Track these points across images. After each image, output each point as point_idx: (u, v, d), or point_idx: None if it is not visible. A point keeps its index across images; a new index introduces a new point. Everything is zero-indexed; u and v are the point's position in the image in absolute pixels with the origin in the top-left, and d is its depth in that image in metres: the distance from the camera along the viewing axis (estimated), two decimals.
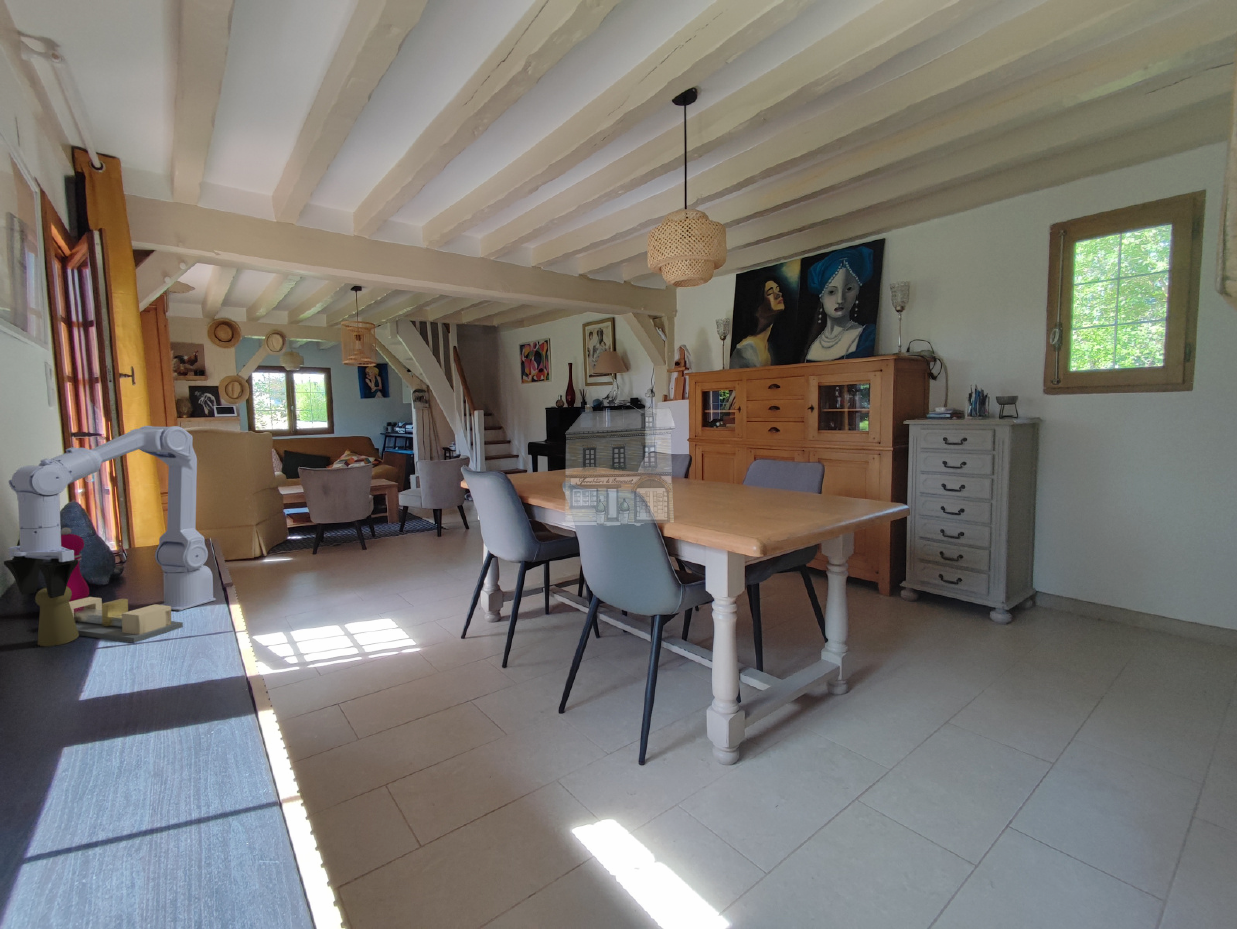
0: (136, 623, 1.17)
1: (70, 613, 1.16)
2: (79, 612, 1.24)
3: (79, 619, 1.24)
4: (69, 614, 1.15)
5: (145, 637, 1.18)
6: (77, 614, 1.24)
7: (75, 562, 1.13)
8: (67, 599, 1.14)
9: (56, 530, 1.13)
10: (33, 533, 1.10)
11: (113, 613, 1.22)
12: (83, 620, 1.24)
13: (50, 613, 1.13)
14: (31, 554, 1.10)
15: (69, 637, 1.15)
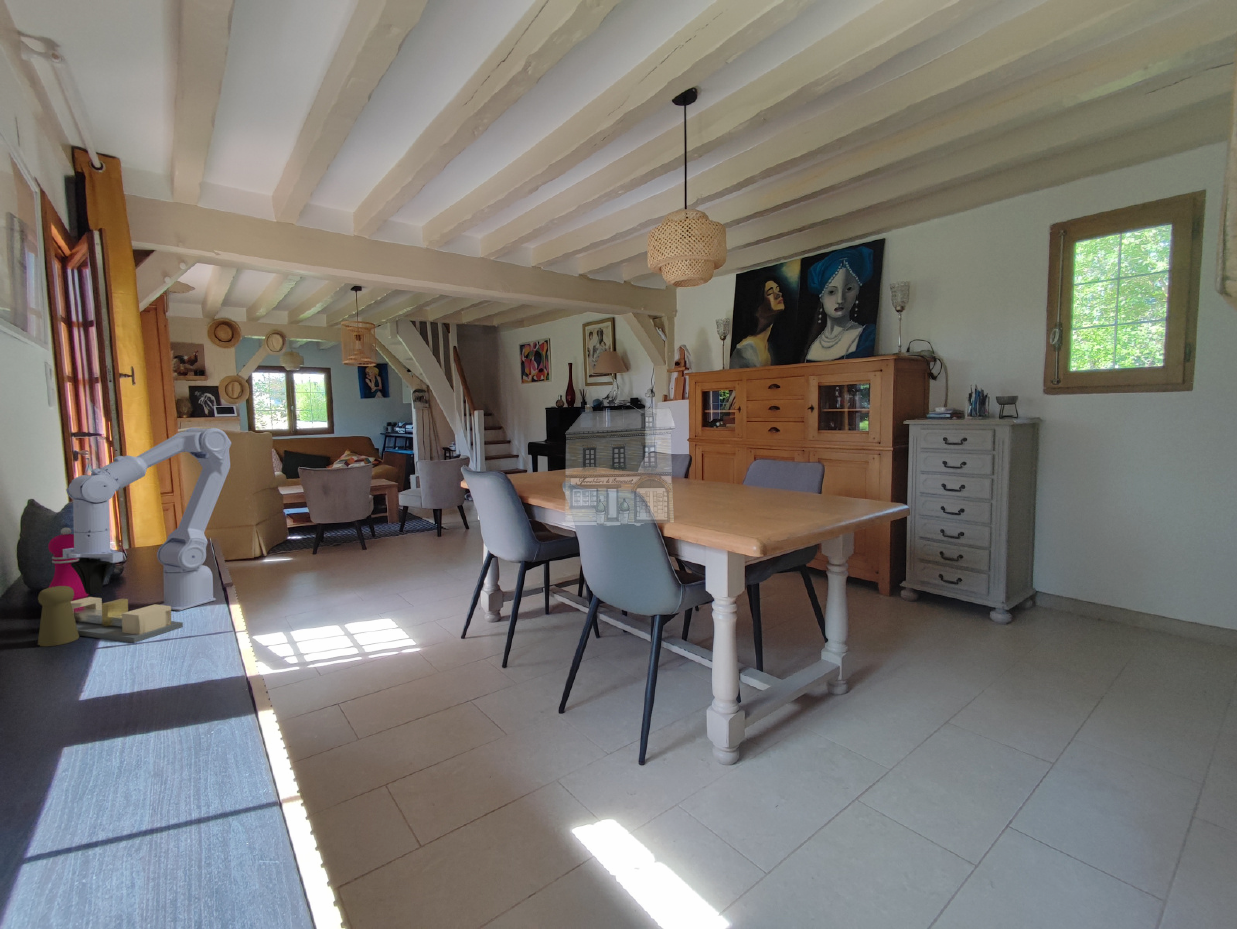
0: (136, 623, 1.17)
1: (71, 613, 1.16)
2: (79, 612, 1.24)
3: (79, 619, 1.24)
4: (71, 614, 1.16)
5: (145, 637, 1.18)
6: (77, 614, 1.24)
7: None
8: (69, 598, 1.16)
9: (106, 534, 1.24)
10: (86, 536, 1.21)
11: (113, 613, 1.22)
12: (83, 620, 1.24)
13: (52, 612, 1.14)
14: (85, 556, 1.21)
15: (69, 637, 1.15)
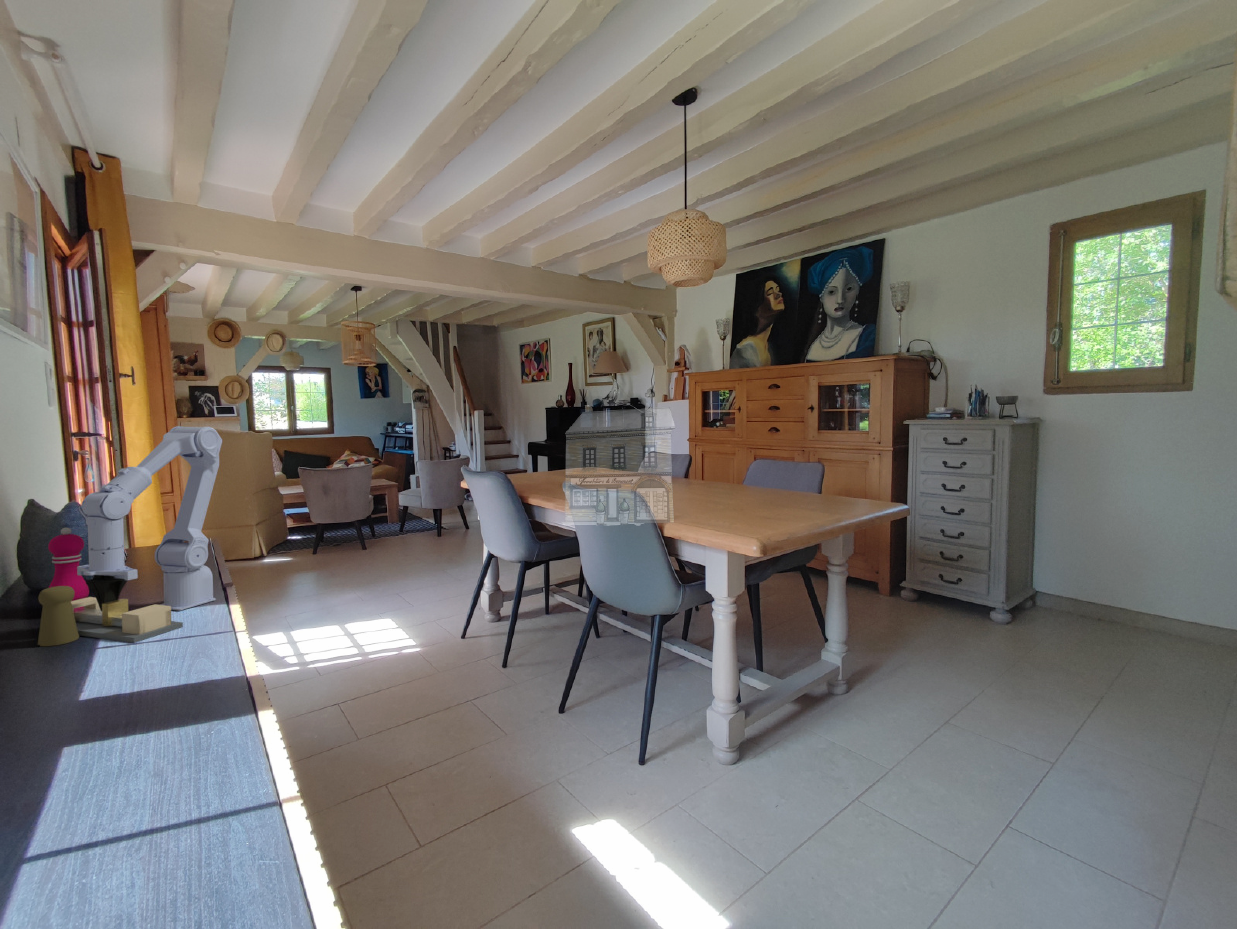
0: (136, 623, 1.17)
1: (72, 613, 1.16)
2: (79, 612, 1.24)
3: (79, 619, 1.24)
4: (71, 614, 1.16)
5: (145, 637, 1.18)
6: (77, 614, 1.24)
7: None
8: (70, 598, 1.16)
9: (121, 551, 1.23)
10: (101, 554, 1.20)
11: (113, 613, 1.22)
12: (83, 620, 1.24)
13: (52, 612, 1.14)
14: (99, 573, 1.20)
15: (69, 637, 1.15)
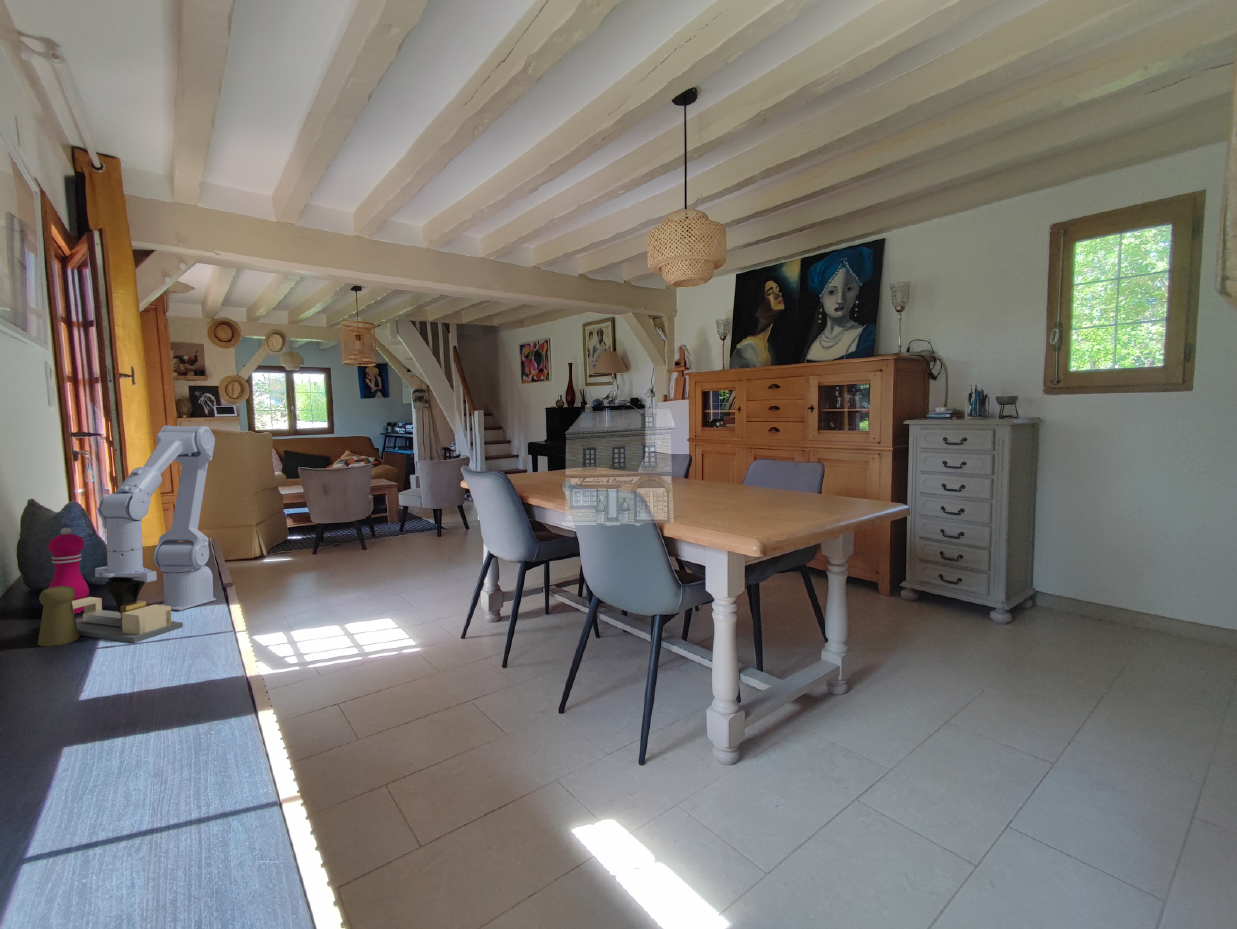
0: (136, 623, 1.17)
1: (72, 614, 1.16)
2: (97, 614, 1.23)
3: (97, 621, 1.23)
4: (71, 614, 1.16)
5: (145, 637, 1.18)
6: (95, 616, 1.23)
7: (144, 581, 1.23)
8: (70, 598, 1.16)
9: (139, 552, 1.22)
10: (120, 556, 1.19)
11: None
12: (101, 622, 1.22)
13: (53, 612, 1.14)
14: (118, 575, 1.19)
15: (69, 638, 1.15)
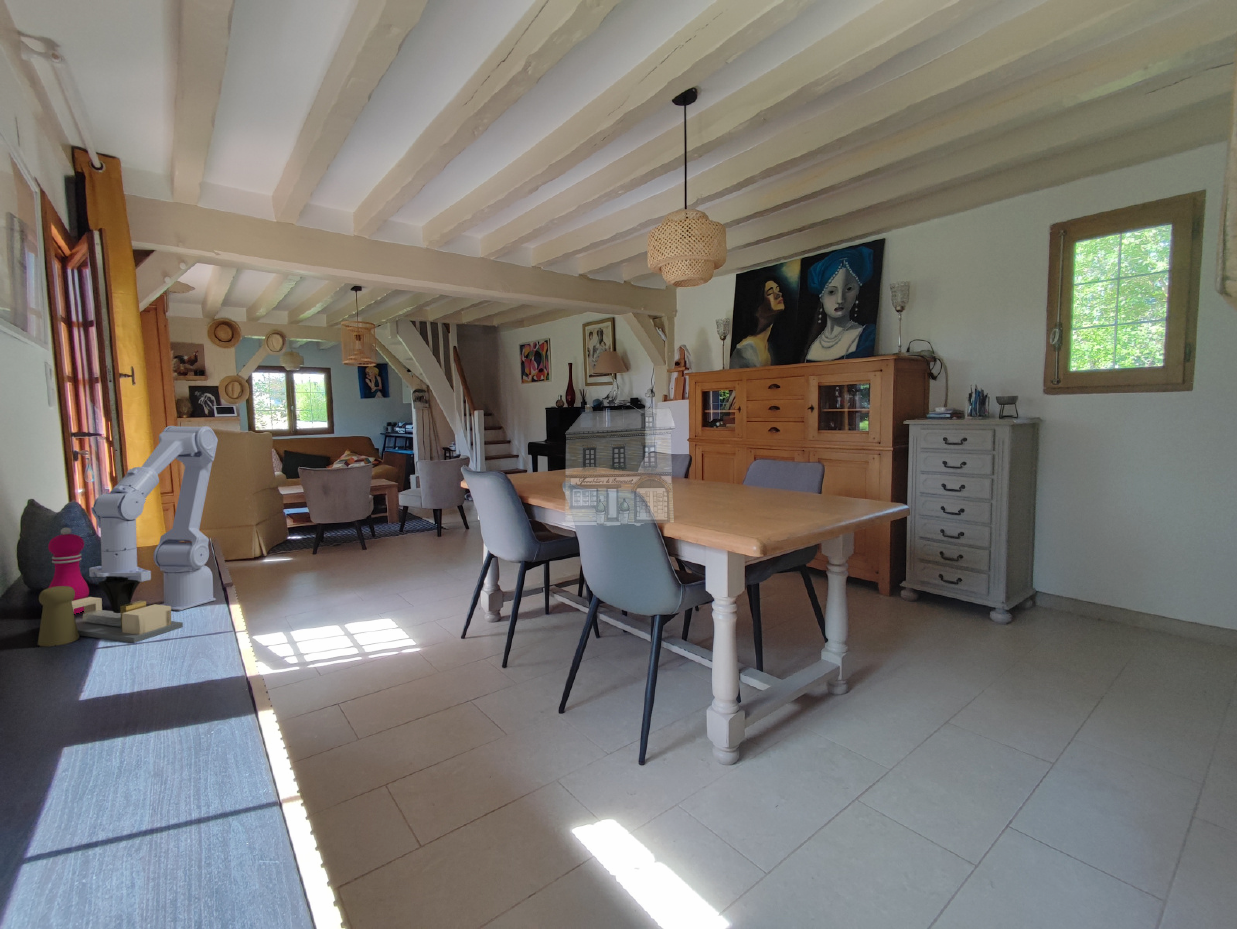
0: (136, 623, 1.17)
1: (72, 614, 1.16)
2: (97, 614, 1.23)
3: (97, 621, 1.23)
4: (71, 614, 1.16)
5: (145, 637, 1.18)
6: (95, 616, 1.23)
7: None
8: (70, 598, 1.15)
9: (133, 552, 1.23)
10: (114, 555, 1.20)
11: None
12: (101, 622, 1.22)
13: (52, 612, 1.14)
14: (113, 575, 1.19)
15: (69, 638, 1.15)
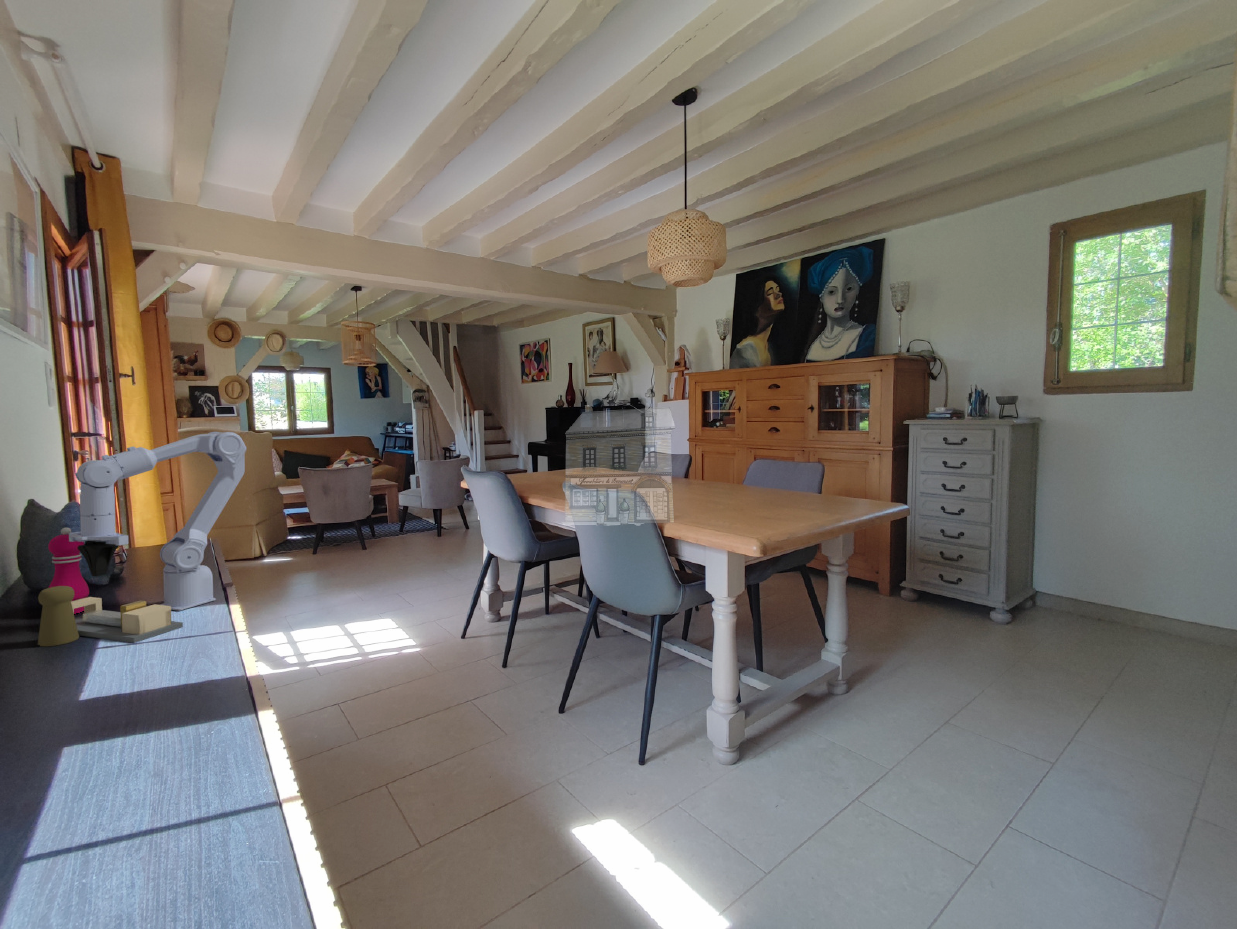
0: (136, 623, 1.17)
1: (71, 613, 1.16)
2: (97, 614, 1.23)
3: (97, 621, 1.23)
4: (71, 614, 1.16)
5: (145, 637, 1.18)
6: (95, 616, 1.23)
7: (116, 545, 1.29)
8: (69, 598, 1.16)
9: (112, 518, 1.27)
10: (93, 520, 1.24)
11: None
12: (101, 622, 1.22)
13: (52, 612, 1.14)
14: (91, 538, 1.24)
15: (69, 637, 1.15)
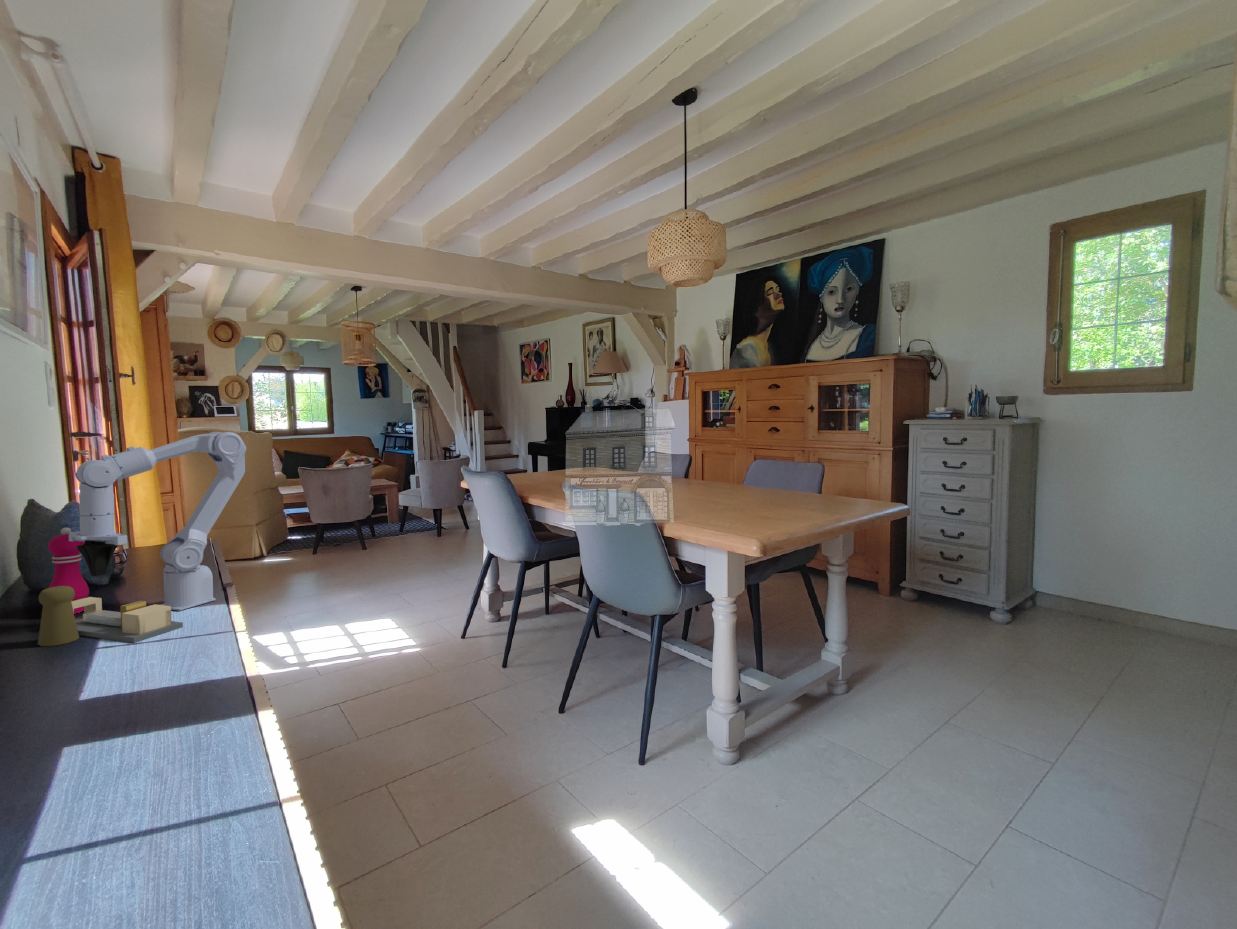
0: (136, 623, 1.17)
1: (72, 613, 1.16)
2: (97, 614, 1.23)
3: (97, 621, 1.23)
4: (71, 614, 1.16)
5: (145, 637, 1.18)
6: (95, 616, 1.23)
7: (116, 545, 1.29)
8: (70, 598, 1.16)
9: (111, 517, 1.28)
10: (92, 520, 1.25)
11: None
12: (101, 622, 1.22)
13: (52, 612, 1.14)
14: (90, 538, 1.24)
15: (69, 637, 1.15)
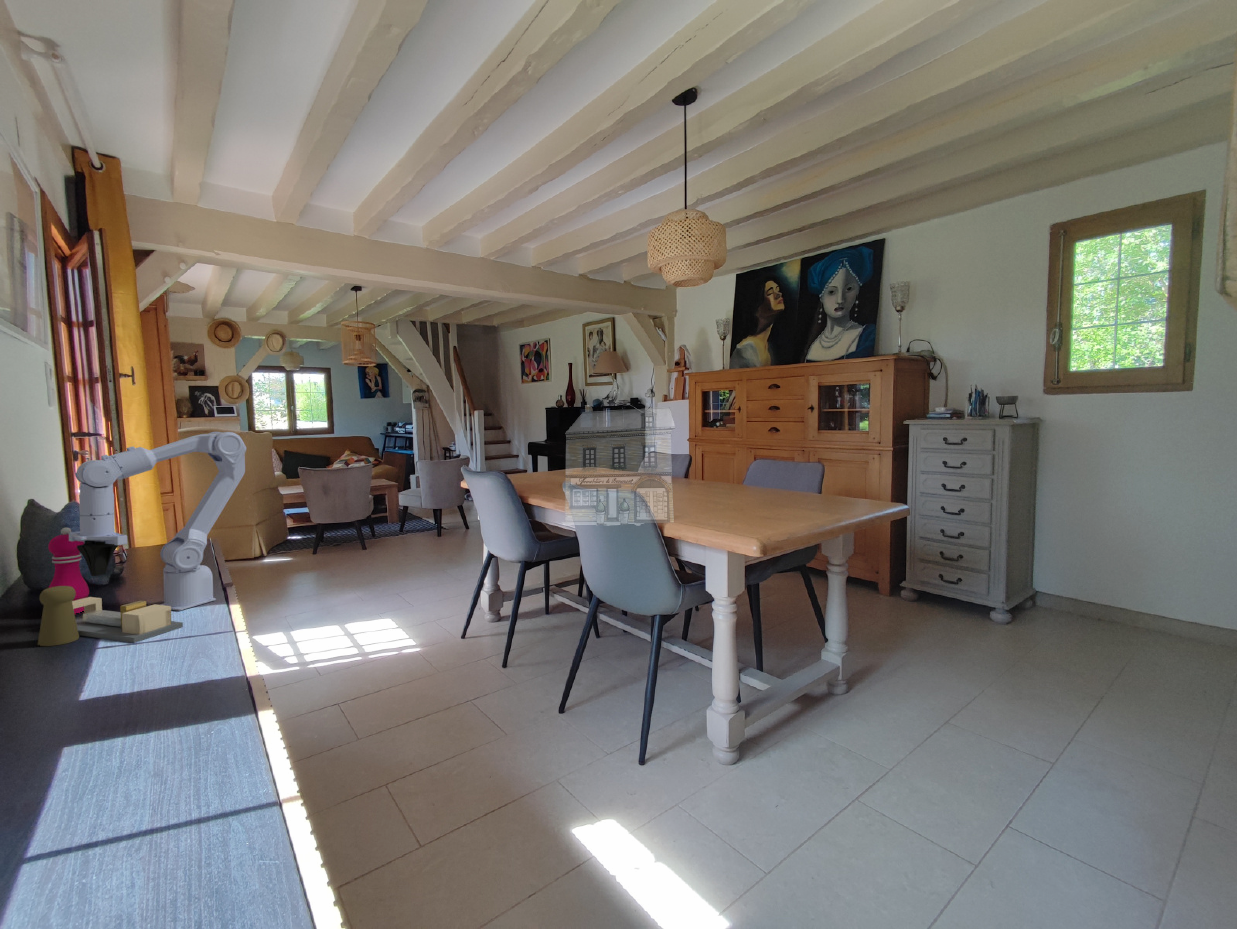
0: (136, 623, 1.17)
1: (72, 614, 1.16)
2: (97, 614, 1.23)
3: (97, 621, 1.23)
4: (71, 614, 1.16)
5: (145, 637, 1.18)
6: (95, 616, 1.23)
7: (116, 545, 1.29)
8: (70, 598, 1.16)
9: (111, 517, 1.28)
10: (92, 520, 1.25)
11: None
12: (101, 622, 1.22)
13: (53, 612, 1.14)
14: (90, 538, 1.24)
15: (69, 638, 1.15)
